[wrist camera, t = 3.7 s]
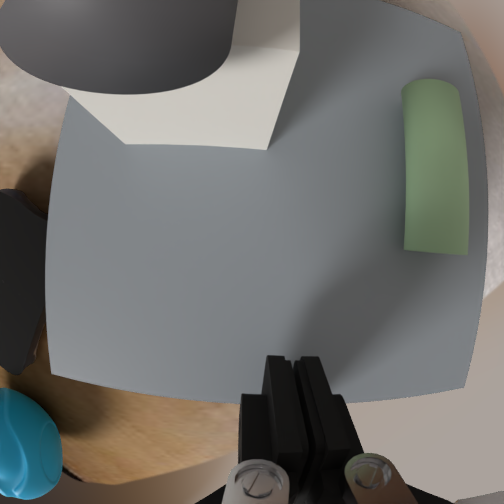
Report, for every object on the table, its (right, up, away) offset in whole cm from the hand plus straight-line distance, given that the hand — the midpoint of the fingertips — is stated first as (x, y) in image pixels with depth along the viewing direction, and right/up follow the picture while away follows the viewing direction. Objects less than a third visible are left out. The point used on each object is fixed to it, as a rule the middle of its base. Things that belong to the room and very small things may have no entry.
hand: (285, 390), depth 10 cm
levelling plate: (0, +8, +3) cm, 9 cm away
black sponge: (-20, +2, +12) cm, 24 cm away
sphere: (-25, -13, +16) cm, 32 cm away
